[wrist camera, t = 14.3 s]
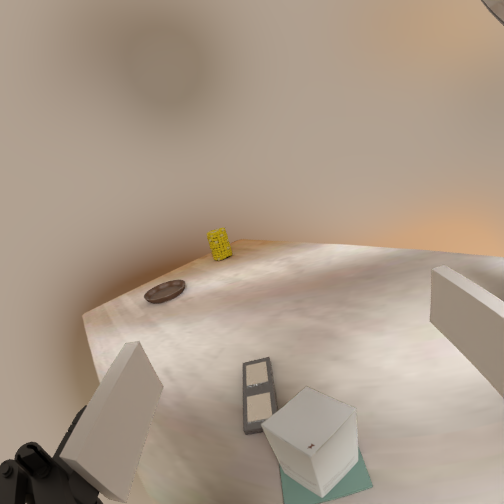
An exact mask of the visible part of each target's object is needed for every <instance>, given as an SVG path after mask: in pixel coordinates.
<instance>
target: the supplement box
mask: <svg viewBox="0 0 504 504" xmlns="http://www.w3.org/2000/svg"><path fill="white" fill-rule="evenodd" d="M261 426H262V428H263V431H264V433H265V435H266V437H267V439H268V441H269V443H270V445H271V447H272V449H273V451H274V453H275V455H276V457H277V459H278V461H279V463H280V465H281V467H282V469H283V471H284V473H285V474H286V475H288V476H289V477H290V478H292V479H293V480H295V481H296V482H298V483H299V484H301V485H302V486H304V487H305V488H307V489H308V490H310V491H312V492H313V493H315V494H316V495H318V496H320V497H321V498H323V497H324V496H325V495H326V494H327V493H328V492H329V491H330V490H331V489H332V488H333V487H334V486H335V485H336V484H337V483H338V482H339V481H340V480H341V479H342V478H343V477H344V476H345V475H346V474H347V473H348V472H349V471H350V470H351V468H352V467H353V466H354V465H355V464H356V463H357V462H358V432H357V414H356V408H355V407H352V406H350V405H348V404H345V403H343V402H341V401H338V400H336V399H334V398H331V397H329V396H327V395H325V394H323V393H320V392H318V391H316V390H314V389H312V388H310V387H308V386H306V387H305V388H304V389H303V390H301V391H300V392H299V393H298V394H297V395H296V396H295V397H294V398H292V399H291V400H290V401H289V402H288V403H287V404H285V405H284V406H283V407H282V408H281V409H280V410H278V411H277V412H276V413H274V414H273V415H272V416H271V417H269V418H268V419H267V420H265V421H264V422H263V423H262V424H261Z"/></svg>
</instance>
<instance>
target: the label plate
mask: <svg viewBox="0 0 504 504" xmlns="http://www.w3.org/2000/svg"><path fill="white" fill-rule="evenodd" d="M277 411H278V410H277V403H276V396H275V389H274V382H273V375H272V368H271V361H270V358H269V357H267V358H263V359H259V360H254V361H250V362H246V363H243V416H244V432H245V434H246V435H248V434H253V433H259V432H264V431H263V428H262V426H261V424H262V423H263V422H264V421H265V420H267V419H268V418H269V417H271V416H272V415H273V414H274V413H276V412H277Z"/></svg>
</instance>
